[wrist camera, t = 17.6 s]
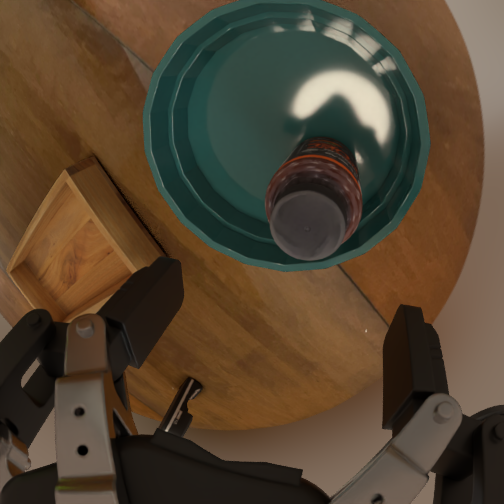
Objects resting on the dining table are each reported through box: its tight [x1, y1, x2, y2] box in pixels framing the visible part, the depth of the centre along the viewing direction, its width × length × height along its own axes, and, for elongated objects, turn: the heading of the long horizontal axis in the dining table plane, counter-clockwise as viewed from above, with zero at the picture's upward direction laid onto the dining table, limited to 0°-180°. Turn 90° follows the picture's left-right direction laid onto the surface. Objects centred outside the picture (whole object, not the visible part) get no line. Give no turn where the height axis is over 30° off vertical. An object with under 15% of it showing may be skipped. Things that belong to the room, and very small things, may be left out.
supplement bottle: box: [265, 137, 362, 261], centre depth 20 cm, size 6×6×11 cm
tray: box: [6, 157, 167, 323], centre depth 38 cm, size 31×15×6 cm, turn 125°
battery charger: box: [159, 378, 202, 437], centre depth 45 cm, size 7×4×11 cm, turn 153°
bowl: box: [143, 0, 431, 272], centre depth 22 cm, size 20×20×6 cm
